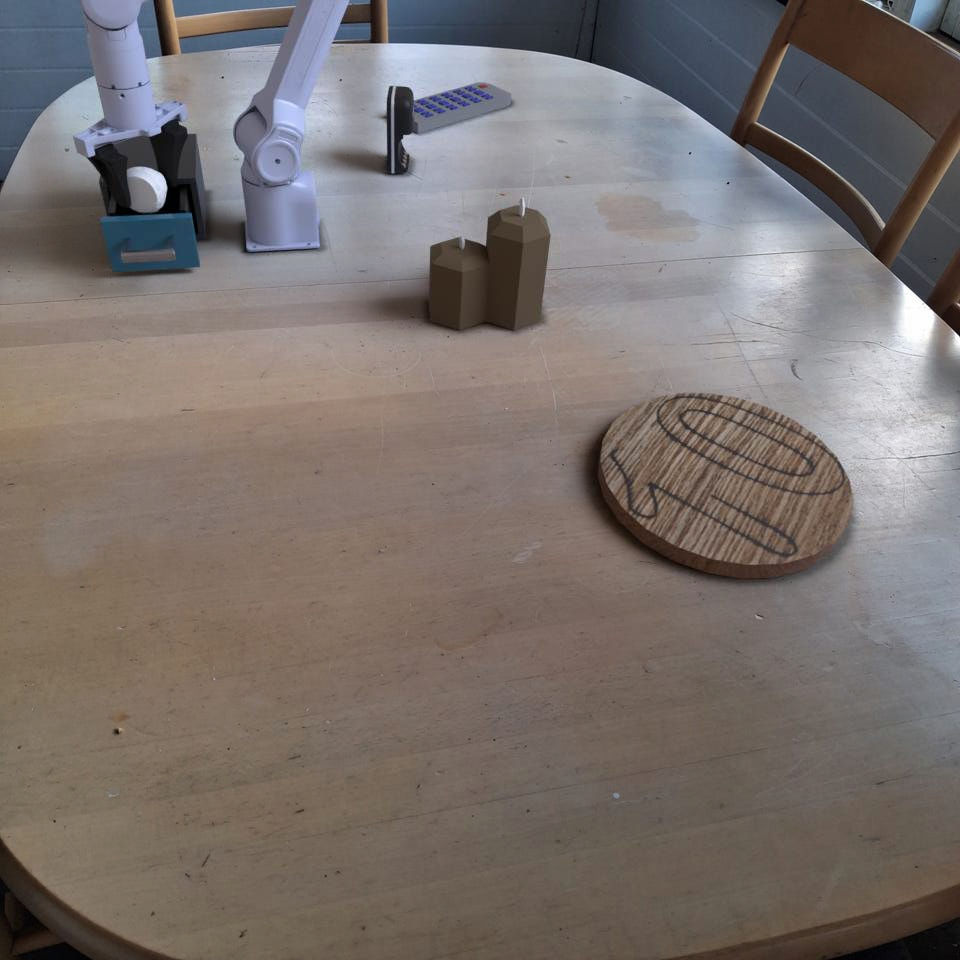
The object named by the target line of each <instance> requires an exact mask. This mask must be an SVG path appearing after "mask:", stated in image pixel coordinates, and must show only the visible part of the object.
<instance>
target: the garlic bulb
mask: <svg viewBox="0 0 960 960" xmlns="http://www.w3.org/2000/svg"><path fill="white" fill-rule="evenodd" d="M127 181H128V187H129V192H130V197H131V206H130V208H131V209H133V210H135V211H137V212H140V213H155V212H157V211H158V210H159V209H160V208H162V206H163V205H164V202H165V198H166V192H167V185H166V181H165V178H164V176H163V175H162V174H161V173H160V172H158V171H155V170H154V169H151V168H147V167H132V168H129V169H128V170H127Z"/></svg>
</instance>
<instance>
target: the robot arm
mask: <svg viewBox="0 0 960 960" xmlns="http://www.w3.org/2000/svg"><path fill="white" fill-rule="evenodd" d="M77 1H78V2H79V4H80V6H81V8H82V10H83V11H82V14H83V25H84V29H85V31H86V33H87V35H86V43H87V47H88V52H89V57H90V60H91V64H92V65H91V66H92V69H93V73H94V78H95V82H96V87H97V91H98V95H99V99H100V104H101V109H102V113H103V118H102V119H100V120H99V121H97V122H96V123H94V124H93V125H91V126H89V127H88V128H87V129H85V130H83V131H82V132H80V133H78V134H75V135H72V139H73V142H74V146H75V150H76V153H77V154H79V155H81V156H83V157H85V158H86V159H87V160H88V161H89V162H90V164H91V165H92V166H93V167H94V169H96V171H97V172H98V174H99V176H100V175H101V176H102V178H103V180H104V181H105V183H106V185H107V186H108V188H109V190H110V192H111V194H112V196H113V198H114V200H115V202H116V203H117V204H119V205H121V206H123V207H125V208H128V207H130V206H131V197H130V192H129V187H128V181H127V161H128V157H127V156H125V155H122V154H120V153H118V150H117V149H115V148H114V145H115V144H118V143H120V142H123V141H126V140H128V139H131V138H133V137H138V136H143V135H144V136H147V137H149V139H150V142H151V145H152V147H153V150H154V154H155V157H156V162H157V167H158V172H160V173H161V174H162V175H163V176H164V178H165V181H166V185H168V186H170V187H173V188H174V187H176V186H177V179H178V168H179V161H180V156H181V152H182V149H183V146H184V144H185V141H186V139H187V137H188V134H189V133H188V128H187V127H186V126H184V125H181V124H180V123H183V122H186V121H188V120H189V118H188V117H189V116H188V110H187V104H186V103H183V102H181V101H179V100H176V99H172V100H169V101H165V102H160V103H157V104H156V103H155V100H154V93H153V88H152V82H151V78H150V73H149V67H148V62H147V57H146V50H145V45H144V41H143V36H142V34H141V33H140V29H139V24H138V23H139V22H138V17H139V14H140V12H141V6H142V5H143V4H148V3H150V2H152V0H77ZM349 3H350V0H297V1H296V4H295V7H294V10H293V11H292V15H291V17H290V20H289V22H288V25H287V28H286V30H285V33H284V35H283V38H282V41H281V43H280V46H279V48H278V51H277V54H276V56H275V59H274V61H273V64H272V67H271V70H270V72H269V75H268V76H267V77H268V78H267V80H266V83H265V85H264V87H263V88H262V89H260V90H258V91H257V92H256V93H255V94H253V96H252V98H251V101H250V103H249V105H248V107H247V108H246V109H245V110H244V111H242V113H241V114H239V116H237V118H236V120H235V122H234V125H233V127H232V136H233V140H234V143H235V145H236V146H237V148H238V150H239V151H240V152H242V154H243V161H242V165H241V167H240V178H241V185H242V193H243V202H244V208H245V210H244V211H245V217H246V218H245V219H246V220H244V231H245V232H244V233H245V247H246V251H247V252H250V253H251V252H269V251H271V252H272V251H287V250H289V251H291V250H305V249H306V250H308V249H309V250H310V249H319V248H320V247H321V243H320V233H319V227H320V226H321V220H320V212H319V211H318V203H317V191H316V182H315V173H314V171H313V170H306V169H301V165H302V161H303V160H302V145H303V142H304V140H305V138H306V114H305V113H306V109H307V106H308V103H309V101H310V98H311V96H312V93H313V90H314V89H315V86H316V84H317V81H318V79H319V77H320V74H321V72H322V69H323V66H324V65H325V62H326V60H327V57H328V54H329V52H330V49H331V48H332V44H333V42H334V41H335V37H336V35H337V32H338V30H339V28H340V25H341V22H342V20H343V18H344V15H345V13H346V10H347V8H348V7H349V6H348V5H349Z"/></svg>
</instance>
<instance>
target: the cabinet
mask: <svg viewBox="0 0 960 960" xmlns="http://www.w3.org/2000/svg"><path fill="white" fill-rule="evenodd" d="M198 142H199V141H198V136H197V133H188V137H187V139H186V141H185V144H184V146H183V149H182V152H181V156H180V161H179V168H178V179H177V184H189V189H190V195H191V201H192V206H193V213H194V231H195V236H196V241H201V240H203V241H204V240H206V238H207V230H206V229H207V223H206V221H207V219H206V215H207V211H206V210H207V209H206V208H207V206H206V205H207V204H206V203H207V202H206V200H207V199H206V187H205V186H206V185H205V180H204V174H203V167H202V161H201V155H200V154H201V153H200V148H199V143H198ZM114 148H115V149H117V150H118V153H120V154H122V155H125V156H127V157H128V161H127V170H128V169H129V168H132V167H147V168H151V169H154V170H155V171H158V167H157V162H156V157H155V154H154V150H153V147H152V145H151V142H150V139H149V137H147V136H144V135H143V136H138V137H133V138H131V139H128V140H126V141H123V142H120V143H118V144H115V145H114ZM98 184H99V189H100V192H101V196H102V197H101V198H102V200H103V206H104V209H105V214H106V217H109V214H108V212H109V205H110V199H111V192H110V190H109V188H108V186H107V185H106V183H105V181H104V180H103V178H102V176H101V175H100V174H99V179H98Z"/></svg>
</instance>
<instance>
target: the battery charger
mask: <svg viewBox="0 0 960 960" xmlns="http://www.w3.org/2000/svg"><path fill="white" fill-rule="evenodd" d="M414 100H415V98H414V92H413V90H412V88H411V87H409V86H401V85H395V84H393V85H390V86H388V90H387V96H386V173H388V174H391V175H393V174H406V173H408V171H409V166H410V154H409V153H408V152H407V151H406V148H405V147H404V144H403V141H402V140H403V139H404V136H410V135H412V133H413V132H414V131H413V124H414Z"/></svg>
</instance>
